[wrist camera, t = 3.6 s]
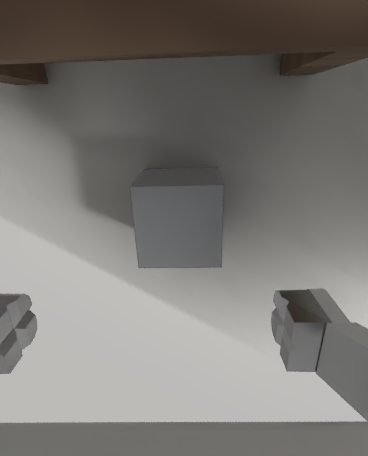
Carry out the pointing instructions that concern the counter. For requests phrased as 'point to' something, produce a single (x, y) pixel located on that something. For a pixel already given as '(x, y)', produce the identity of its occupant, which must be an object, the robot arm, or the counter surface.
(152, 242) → the stone block
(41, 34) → the trapdoor frame
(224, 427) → the robot arm
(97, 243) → the counter surface
